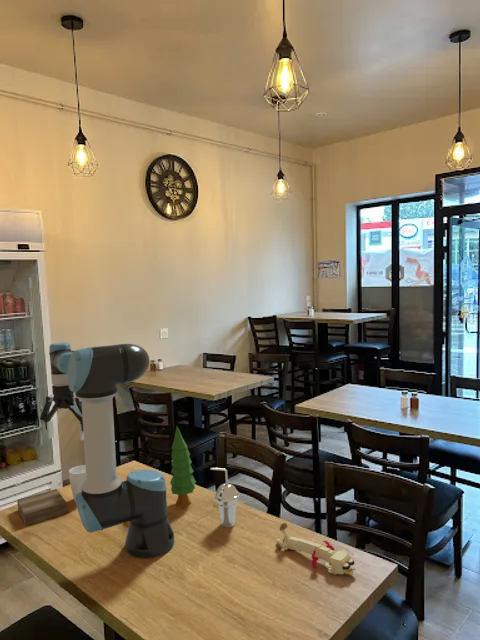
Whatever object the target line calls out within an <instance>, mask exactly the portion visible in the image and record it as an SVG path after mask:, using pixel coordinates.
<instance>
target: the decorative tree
mask: <svg viewBox="0 0 480 640" xmlns="http://www.w3.org/2000/svg"><path fill="white" fill-rule="evenodd" d="M188 447H189V446H188V445H187V443H186V441H185V439H184V438H183V436H182V433H181V431H180V428H179V427H178V426H176V427H175V434H174V439H173V442H172V445H171V450H172V452H171V459H172V460H171V466H172V469H171V471H170V474H173V475H172V477H171V480H170V486H171V488H170V491H171V494H173V495H177V499H176V502H175V506H177V507H180V508H185V507H187V506H189V505H192V501H191V499H190V498H189V496H188V494H192V493H194V490H195V489H196V486H195V484H196V483H197V481H196V479H195V477H194V476H193V473H194V469H193V467H192V465H191V464H192V462H193V461H192V460H191V457H190V456H191V452H190V451H189V449H188Z"/></svg>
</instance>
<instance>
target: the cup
mask: <svg viewBox="0 0 480 640" xmlns="http://www.w3.org/2000/svg"><path fill="white" fill-rule="evenodd" d="M68 479H69V484H70V488H71V493H72V497H73V501H74V502H75V503H76V495H77V494H78V493H82V488H81V487H82V484H83V482H84V481H85V480H86V464H79V465H75V466H73V467H71V468H70V469H69V470H68Z"/></svg>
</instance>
